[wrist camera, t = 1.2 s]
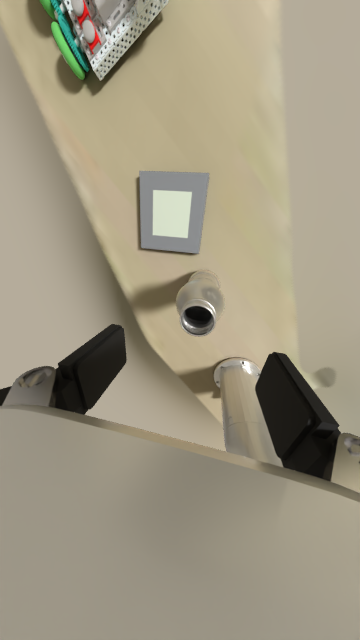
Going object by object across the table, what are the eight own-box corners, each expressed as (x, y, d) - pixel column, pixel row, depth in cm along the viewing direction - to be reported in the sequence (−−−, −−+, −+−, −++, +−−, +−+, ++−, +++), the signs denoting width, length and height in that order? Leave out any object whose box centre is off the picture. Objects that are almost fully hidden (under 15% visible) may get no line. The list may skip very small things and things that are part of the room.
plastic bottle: (209, 303, 34) (208, 358, 16) (184, 288, 34) (155, 328, 16) (225, 278, 31) (246, 312, 14) (198, 262, 31) (183, 275, 13)
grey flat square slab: (199, 253, 30) (198, 253, 29) (143, 248, 32) (141, 247, 31) (209, 177, 25) (209, 173, 24) (142, 174, 27) (139, 170, 25)
